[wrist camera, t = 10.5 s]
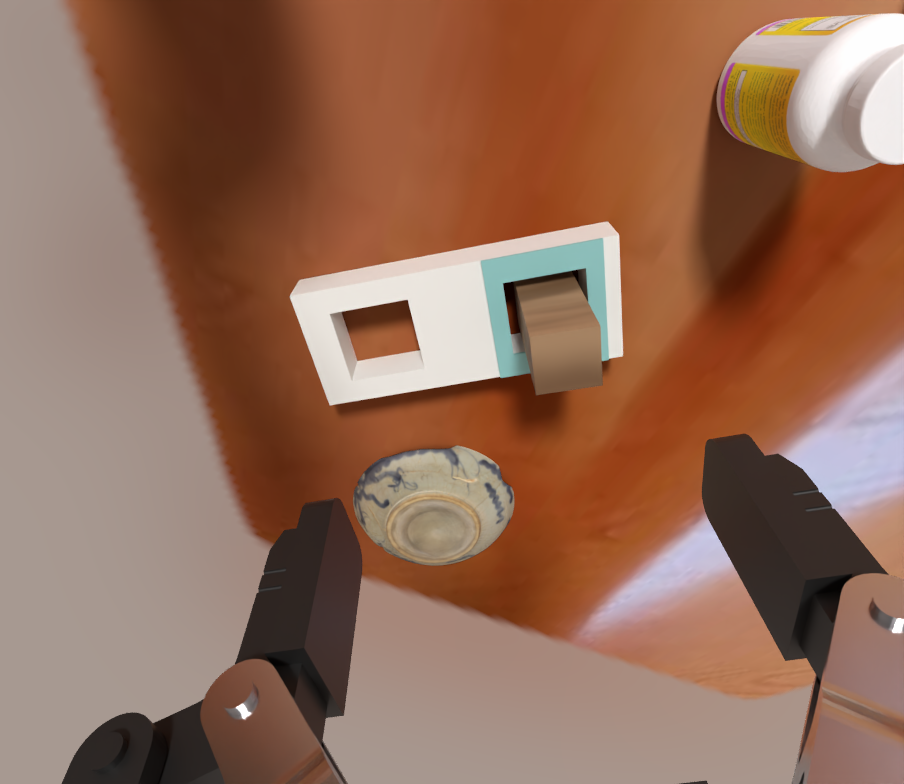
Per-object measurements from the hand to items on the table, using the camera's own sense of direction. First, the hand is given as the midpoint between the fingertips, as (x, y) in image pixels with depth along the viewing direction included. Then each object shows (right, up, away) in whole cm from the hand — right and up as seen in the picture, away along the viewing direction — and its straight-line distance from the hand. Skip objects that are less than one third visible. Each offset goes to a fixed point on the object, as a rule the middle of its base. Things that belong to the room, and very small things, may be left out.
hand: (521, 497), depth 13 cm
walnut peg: (+5, +9, +29) cm, 31 cm away
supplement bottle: (+18, +21, +22) cm, 35 cm away
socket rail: (-1, +8, +30) cm, 31 cm away
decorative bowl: (-3, -8, +41) cm, 42 cm away
